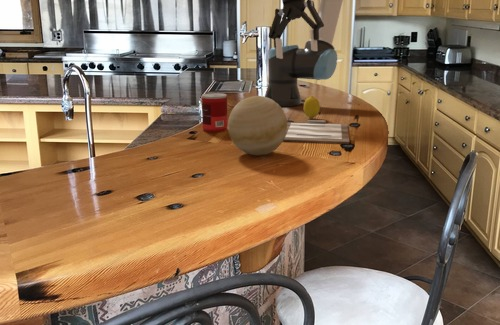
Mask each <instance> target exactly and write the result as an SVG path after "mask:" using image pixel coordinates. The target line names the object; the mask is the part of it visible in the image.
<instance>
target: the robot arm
mask: <svg viewBox="0 0 500 325" xmlns="http://www.w3.org/2000/svg"><path fill="white" fill-rule="evenodd" d="M343 1H344V0H320V2H319V7H318V10H317V9H316V7H315V2H314V1H313V0H281V2H282V4H283V5H282V6H283V7H282V8H275V10H274V17H273V21H272V23H271V27H270V31H269V33H268V36H267V37H268V38H269V39H272V40H273V47H271V48H270V49H269V51H268V57H267V58H268V59H267V60H268V84H267V88H266V91H265V95H264V97H267V98H270V99H272V100H273V101H275V102H276V103H277V104H279V106H280V107H293V106H300V105H301V104H302V97H301V92H300V91H299V87H298V86H299V85H298V79H303V80H305V79H306V80H317V81H321V80H329V79H330V78H332V76H333V75H334V73H335V71H336V69H337V64H338V53H337V51H336V49H335V46H334V45H333V42H334V39H335V35H336V34H335V33H336V29H337V25H338V23H339V18H340V13H341V10H342V6H343V3H344V2H343ZM306 8H307V9H308V12H310V14H311V17H312V18H313V19H312V18H311V17H310V16H309V15H308V13H306V11H305V10H306ZM301 18H302V19H303V20H304V22H306V24H308V25H309V27H310V28H311V29H310V30H309V32H310V36H309V37H310V39H308V40H306V42H305V45H304V48H299V47H300V46H299V45H298V44H291V45H283V39H282V38H281V37H282V36H283V34H284V32H285V30H286V28H287V26H288V24H289V23H290V22H291V21H293V20H296V19H301Z"/></svg>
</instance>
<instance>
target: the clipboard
mask: <svg viewBox="0 0 500 325" xmlns="http://www.w3.org/2000/svg"><path fill="white" fill-rule="evenodd" d="M348 128H349V127H348V123H336V122H335V123H330V122H328V123H327V122H326V120H324V119H323V120H316V119H307V120H306V122H303V121H302V122H300V121H299V122H297V121H287V133H286V136H285V138H284V140H283V142H285V143H310V144H313V143H314V144H335V143H339V144H341V145H350V137H349V129H348ZM283 142H282V143H283Z"/></svg>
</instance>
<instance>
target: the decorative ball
mask: <svg viewBox="0 0 500 325" xmlns="http://www.w3.org/2000/svg"><path fill="white" fill-rule="evenodd" d="M287 122H288V120H287V116H286V113H285V112H284V110H283V108H282V106H279V104H277V103H276V102H275V101H273V100H272V99H270V98H267V97H265V96H263V95H252V96H249V97H246V98H244V99H242V100H240V101H239V102H238V103H236V104H235V106H234V107H233V108H232V110H231V111H230V113H229V117H228V119H227V130H228V135H229V138H230V140H231V141H232V143H233V144H234V145H235V146H236V147H237V149H238V150H240V151H241V152H243V153H245V154H248V155H251V156H265V155H268V154H270V153H273V151H275V150H277V149H278V147H280V146H281V145H282V143H283V140H284V138H285V136H286V133H287Z"/></svg>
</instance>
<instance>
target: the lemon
mask: <svg viewBox="0 0 500 325" xmlns="http://www.w3.org/2000/svg"><path fill="white" fill-rule="evenodd" d="M320 107H321V106H320V101H319V100H318V98H316V97H314V96H313V95H310V96H309V97H307V98H306V99H305V100H304V103H303V113H304V115H305V116H306V117H308V118H309V120H313V119H314V118H315V117H316V116H318V115H319V112H320V111H321V110H320Z"/></svg>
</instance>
